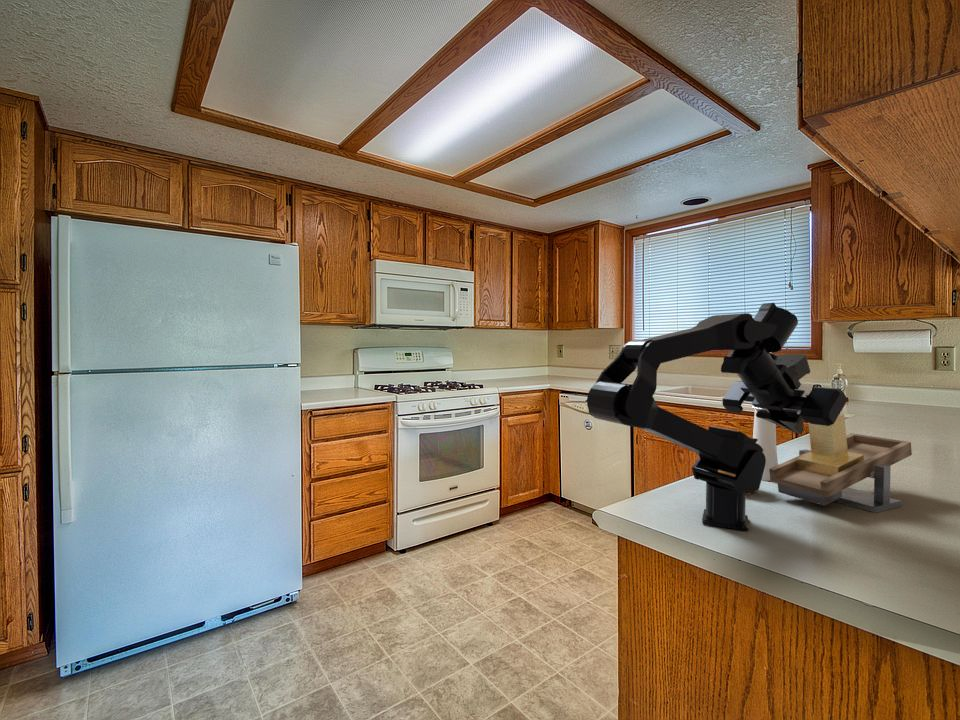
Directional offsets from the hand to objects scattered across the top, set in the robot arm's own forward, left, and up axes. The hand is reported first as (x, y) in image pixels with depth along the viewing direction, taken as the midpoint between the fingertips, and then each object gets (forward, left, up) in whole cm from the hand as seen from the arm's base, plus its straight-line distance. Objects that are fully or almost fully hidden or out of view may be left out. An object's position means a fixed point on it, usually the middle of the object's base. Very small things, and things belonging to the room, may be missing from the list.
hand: (800, 431), depth 83 cm
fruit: (+5, +9, -14) cm, 17 cm away
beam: (+10, -8, -10) cm, 16 cm away
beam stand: (+10, -8, -13) cm, 18 cm away
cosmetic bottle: (+18, +4, -14) cm, 23 cm away
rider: (+7, -6, -7) cm, 12 cm away
